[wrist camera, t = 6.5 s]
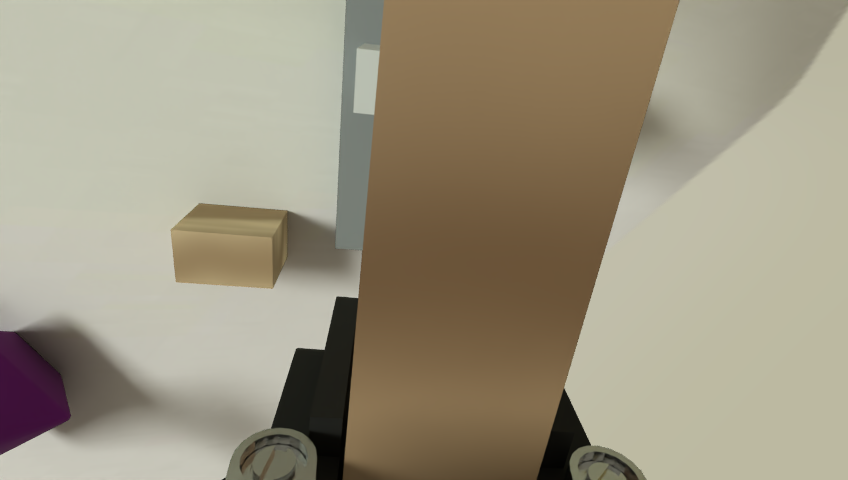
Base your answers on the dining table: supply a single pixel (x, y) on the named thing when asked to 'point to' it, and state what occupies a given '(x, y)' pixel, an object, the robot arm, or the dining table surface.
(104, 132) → the dining table surface
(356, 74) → the stand
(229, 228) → the bar rest
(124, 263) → the dining table surface
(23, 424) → the purple potion bottle
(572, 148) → the walnut bar
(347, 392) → the robot arm
